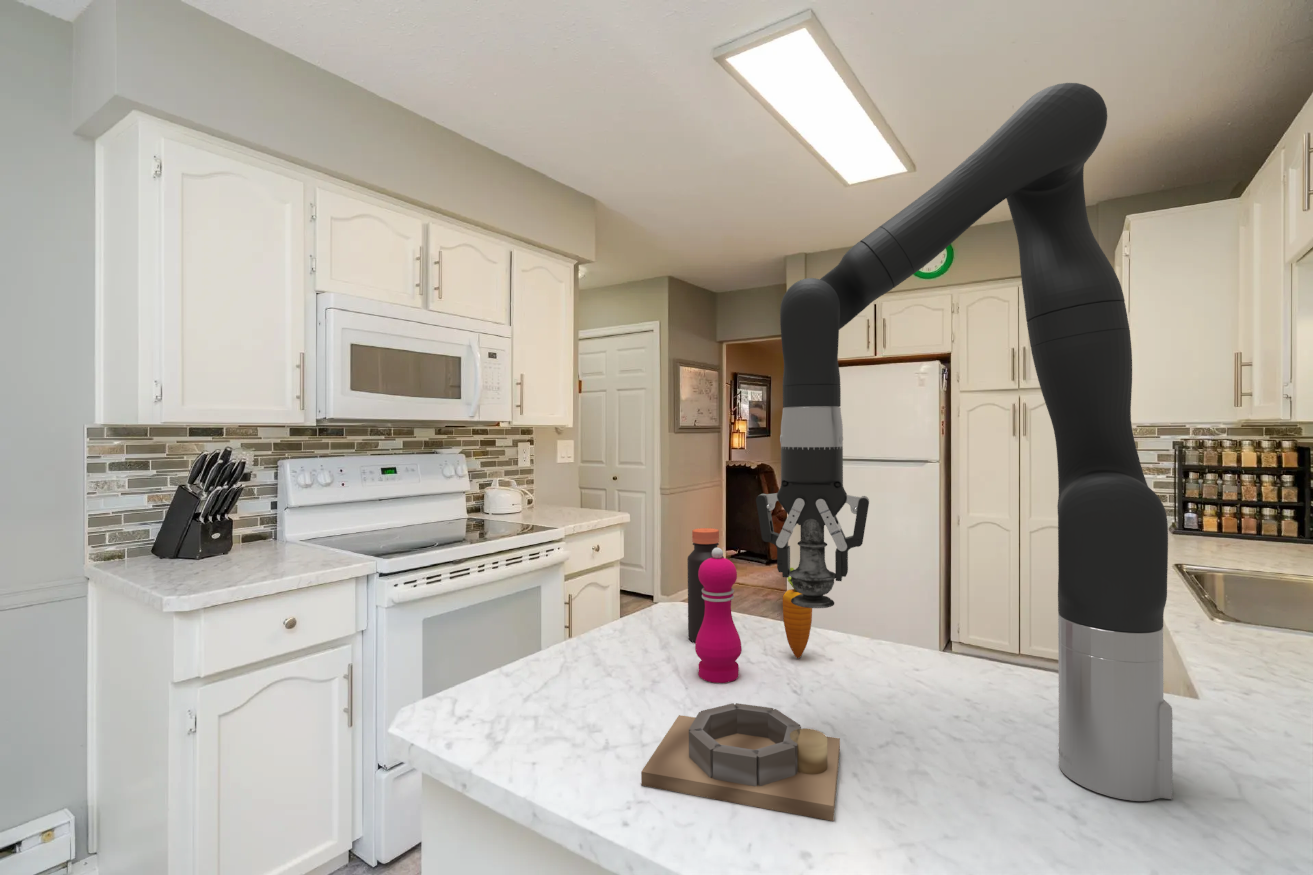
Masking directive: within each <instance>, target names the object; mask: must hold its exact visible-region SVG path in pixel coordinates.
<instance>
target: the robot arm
mask: <svg viewBox="0 0 1313 875" xmlns="http://www.w3.org/2000/svg"><path fill="white" fill-rule="evenodd" d="M1107 109H1108V107H1107V106H1106V103H1105V100H1104V99H1103V97H1102V96H1101V94H1100V93H1099V92H1098V91H1096V90H1095V89H1094V88H1092V87H1091V86H1088V85H1086V84H1082V83H1079V82H1064V83H1058V84H1053V85H1050V86H1048V87H1046V88H1044V89H1042V90H1040V91H1038V92H1036V93H1035V94H1034V95H1032V96H1030V97H1029V98H1028V99H1027V100H1026V101H1025V102H1024V103H1023V104H1022V105H1021V106H1020V107H1019V108H1018V109H1017V110H1016V111H1015V112H1014V113H1013V114H1012V115H1011V116H1010V117H1009V118H1008V119H1007V120H1006V121H1005V122H1004V123H1003V124H1002V125H1001V126H1000V127H999V128H998V129H997V130H996V131H995V132H994V133H992V135H991V136H990V137H989V138H988V139H987V140H986V141H985V142H983V143H982V145H980V146H979V147H978V148H977V149H976V150H975V151H973V153H972V154H970V155H969V156H968V157H967V158H966V159H964V161H963V162H961V163H960V164H959V165H958V166H956V168H954V169H953V170H952V171H951V172H949V174H947V175H946V176H944V177H943V178H942V179H941V180H940V181H939V182H937V183H936V184H935V185H934V186H932V187H931V188H929V189H928V190H927V191H926V192H924V193H923V194H921V196H919V197H918V198H917V199H915V200H914V201H912V202H911V203H910V204H908V205H907V206H906V207H904V208H903V209H902V210H900V211H899V212H898V213H896V214H895V215H893V216H891V217H890V218H889V219H888V220H886V221H885V222H884V223H882V224H881V225H880V226H879V227H877V228H876V229H874V230H873V231H872V232H871V233H869V234H868V235H866V236H865V237H863V238H862V239H861V240H860V241H858V242H857V243H855V244H854V245H853V246H852V247H851V248H850V249H849V250H848V251H846V253H844V255H843V256H842V257H841V260H840V261H839V263H838V264H837V265H836V266H835V267H833V268H832V269H830V271H828V272H827V273H826V274H824V275H823V276H822V277H820V278H816V277H808V278H803V279H800V280H798V281H796V282H794V283H793V284H792V285H791V286H790V287H789V288H788V289H787V291H785V293H784V295H783V297H782V300H781V303H780V310H779V311H780V312H779V315H780V316H779V318H780V320H779V323H780V338H781V347H782V349H781V350H782V358H783V377H782V415H781V422H780V435H779V442H780V488H779V489H778V491H777V492H776V493H768V494H767V493H761V494H759V495H757V496H756V498H755V503H756V504H755V505H756V509H757V515H758V522H759V527H760V528H759V529H760V535H761V540H762V541H763V542H765V543H770V544H772V545H774V546H775V547H776V566H777V567H776V569H777V572H778V573H781V574H782V576H781V577H782V578H787V579H788V577H790V576H789V572H790V568H791V545H789V540H790V539H791V537H792V535H793V532H794V530H795V529H796V526H797V525H798V526H801V525H804V522H805V521H806V520H808V519H814V520H816V521H817V522H818V523H819V526H824V527H825V526H826V529H827V531H828V533H829V534H830V536H831V538H832V540H833V542H834V544H835V546H836V548H835V556H834V557H835V560H834V561H835V565H834V566H835V568H834V569H835V570H834V571H835V572H834V573H835V576H836V578H835V582H842V580H843V577H844V578H845V577H847V575H848V573H849V572H848V571H849V550H850V549H853V548H856V547H857V548H859V547H861V546H862V545H863V542H864V537H865V530H866V524H867V517H868V511H869V506H870V505H869V504H870V498H869V497H867V496H866V495H862V496H854V495H851V494H850V495H849V494H847V492H846V490H845V488H844V461H843V460H844V458H843V457H844V451H843V450H844V448H843V447H844V445H843V444H844V429H843V425H844V424H843V419H842V418H843V417H842V412H841V411H842V410H841V408H842V407H841V406H842V404H841V400H842V399H841V398H842V397H841V394H842V393H841V391H842V390H841V373H840V367H839V359H838V357H839V340H840V339H839V337H840V330H841V329H842V328H844V327H845V326H846V325H848V324H849V323H850V322H851V321H853V320H854V318H856V317H857V316H858V315H860V313H862V312H863V311H864V310H865V309H866V308H867V307H868V306H869V305H871V304H872V303H873V302H874V301H876V300H877V299H879V298H880V297H882V296H884V295H885V294H887V293H889V292H891V291H892V290H893V289H894V288H896V287H898V286H899V285H901V283H903V282H904V281H906V280H908V278H910V277H912V276H913V275H914V274H915V273H917V272H918V271H920V270H922V268H924V267H925V266H927V265H928V264H929V263H930V262H932V261H933V260H934V259H935V258H936V257H938V256H939V255H940V254H941V253H943V251H945V250H946V249H947V248H948V247H949V246H950V245H951V244H952V243H953V242H955V241H956V239H958V238H959V237H960V236H961V235H963V233H965V232H966V231H967V230H968V229H969V228H970V227H971V226H972V225H974V224H975V223H977V221H978V220H980V219H981V218H982V217H983V216H984V215H986V214H987V213H988V212H990V211H991V210H992V209H993V208H996V206H997V205H999V204H1000V203H1002V202H1003V201H1005V200H1006V201H1007V202H1006V203H1007V205H1008V207H1009V208H1008V209H1009V212H1010V215H1011V218H1012V222H1013V225H1014V229H1015V233H1016V234H1015V235H1016V238H1017V245H1018V253H1019V266H1020V277H1021V278H1020V279H1021V286H1022V293H1023V302H1024V311H1025V318H1026V319H1025V320H1026V326H1027V333H1028V337H1029V338H1028V340H1029V344H1030V352H1031V356H1032V360H1033V364H1034V368H1035V373H1036V375H1037V381H1038V385H1039V388H1040V390H1041V393H1042V398H1043V400H1044V402H1045V406H1046V408H1047V409H1046V410H1047V412H1048V414H1049V418H1050V421H1051V426H1052V428H1053V433H1054V439H1055V446H1056V447H1055V448H1056V458H1057V474H1058V476H1057V479H1058V480H1057V481H1058V496H1057V497H1058V498H1057V499H1058V500H1057V538H1058V539H1057V540H1058V541H1057V545H1058V546H1057V549H1058V552H1057V554H1058V557H1057V558H1058V561H1057V562H1058V563H1057V564H1058V572H1057V573H1058V575H1057V577H1058V578H1057V579H1058V580H1057V605H1058V606H1057V608H1058V609H1057V611H1058V613H1057V614H1058V616H1057V618H1058V619H1057V621H1058V622H1057V624H1058V625H1057V626H1058V628H1057V629H1058V631H1057V632H1058V633H1057V635H1058V636H1057V637H1058V639H1057V640H1058V644H1057V645H1058V652H1057V653H1058V656H1057V657H1058V743H1057V744H1058V745H1057V750H1058V766H1059V768H1060V771H1062V773H1063V774H1064V776H1066V777H1067V778H1068V779H1070V780H1071V781H1073V782H1075V783H1076V784H1078V785H1080V786H1081V787H1083V788H1086V789H1087V790H1090V791H1093V792H1095V793H1098V794H1100V795H1104V796H1107V797H1111V798H1115V799H1119V800H1125V801H1132V802H1133V801H1136V802H1147V801H1148V802H1150V801H1153V800H1157V799H1166V800H1173V794H1174V793H1173V788H1174V787H1173V782H1174V781H1173V776H1174V775H1173V708H1172V706H1171V704H1170V703H1168V702H1167V700H1165V699H1164V612H1165V607H1166V604H1167V598H1168V565H1169V562H1168V560H1169V559H1168V558H1169V557H1168V556H1169V550H1168V549H1169V527H1168V526H1169V525H1168V523H1169V522H1168V518H1167V517H1168V516H1167V511H1166V508H1165V506H1164V504H1163V502H1162V500H1161V498H1160V497H1159V495H1158V494H1157V493H1156V492H1155V491H1154V490H1152V489H1151V487H1149V485H1148V482H1147V480H1146V476H1145V474H1144V471H1143V468H1142V464H1141V460H1140V457H1139V454H1138V448H1137V445H1136V442H1135V437H1134V432H1133V425H1132V414H1131V412H1132V410H1131V409H1132V392H1133V390H1132V387H1133V350H1132V340H1131V338H1132V337H1131V330H1130V324H1129V317H1128V313H1127V308H1126V303H1125V302H1126V300H1125V296H1124V292H1123V288H1122V285H1121V282H1120V279H1119V278H1118V276H1117V272H1116V271H1115V269H1114V268H1113V266H1112V264H1111V262H1110V261H1109V259H1108V258H1107V256H1106V254H1105V252H1104V251H1103V249H1102V248H1101V246H1100V245H1099V243H1098V241H1097V239H1096V237H1095V235H1094V233H1093V231H1092V229H1091V225H1090V222H1089V219H1088V213H1087V212H1088V211H1087V205H1086V204H1087V203H1086V197H1085V196H1086V195H1085V185H1084V184H1085V182H1084V170H1085V164H1086V163H1087V161H1088V160H1089V159H1090V157H1092V155H1093V153H1094V152H1095V151H1096V149H1097V148H1098V146H1099V144H1100V142H1101V140H1102V139H1103V136H1104V134H1105V130H1106V127H1107V123H1108V110H1107ZM777 502H778V503H779V504H780V506H781V507H782V508H783V510H784V511H785V512H786V514H787V517H786V519H785V521H784V524H782V525H783V526H782V529H781V530H780V532H779V533H778V532H775V530H774V529H775V528H774V523H773V517H772V511H773V510H774V509H775V507H776V503H777ZM846 504H847V505H849V507H850V512H851V513H852V514H854V515H855V522H854V528H853V532H852V533H853V534H852V535H850V536H847V537H846V535H845V533H844V531H843V529H842V525H841V523H840V521H839V519H838V517H837V515H838V513H839V512H840V511H841V510H842V509H843V507H844V506H845V505H846Z"/></svg>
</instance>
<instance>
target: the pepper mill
mask: <svg viewBox="0 0 1313 875" xmlns="http://www.w3.org/2000/svg"><path fill="white" fill-rule="evenodd" d="M712 556H713V558H709V559H707V560H705V561H704V562H703V563H702V564H701V565H700V568H699V572H698V577H699V581H700V582H701V584H702V585H703V586H704V588H703V589H702V592H703V593H702V598H703V599H704V600H705V614H704V619H703V622H702V625H701V627H700V630H699V632H698V634H697V638H696V643H695V642H694V643H695V645H694V648H695V649H694V650H695V654H696V656H697V657H698V658H699V659H700V661H699V663H698V677H699V678H700V679H702V680H703V681H706V682H708V683H713V684H725V683H731V682H734V681H736V680H737V679H738V678H739V674H740V673H739V671H740V670H739V668H740V667H739V663H738V662H737V660H738V659H739V657H740V656H741V654H742V649H743V648H742V641H741V638H740V634H739V631H738V630H737V627H736V624H735V623H734V619H733V616H732V615H733V614H732V608H731V607H732V600H733V599H734V598H735V596H734V592H735V590H734V589H733V586H734V585H735V583H736V582H737V579H738V574H737V573H738V572H737V567H736V566H735V564H734V563H733V562H732V561H731V560H730V559H729V558H725V557H724V551H723V550H722V548H720V547H717V548H714V549H713V550H712ZM722 556H723V557H724V558H722Z"/></svg>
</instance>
